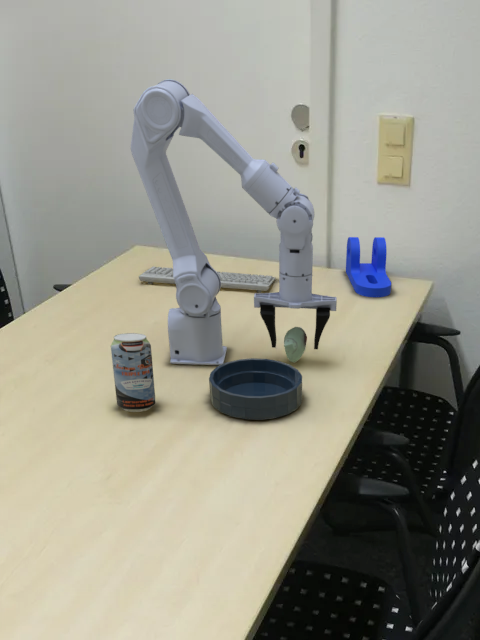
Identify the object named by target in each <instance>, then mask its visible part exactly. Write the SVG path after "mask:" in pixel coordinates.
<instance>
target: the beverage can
mask: <svg viewBox="0 0 480 640" xmlns="http://www.w3.org/2000/svg"><path fill="white" fill-rule="evenodd" d="M110 351H111V353H110V354H111V362H112V373H113V380H114V390H115V399H116V405H117V406H118V407H119V408H121V409H122V410H123V411H125V412H130V413H140V412H146V411H149V410H150V409H151V408H152V407H153V406H155V404H156V402H157V401H156V391H155V378H154V367H153V353H152V345H151V342H150V341H149V340H148V339H147V335H145V334H143V333H138V332H127V333H119V334H118V333H117V334H115V335H114V336H113V340H112V342H111V345H110Z"/></svg>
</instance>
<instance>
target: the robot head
mask: <svg viewBox="0 0 480 640" xmlns="http://www.w3.org/2000/svg"><path fill="white" fill-rule="evenodd" d="M307 342H308V336H307V334H306V331H305V330H304V329H303V328H302V327H300V326H294V327H291V328H290V329H288V330H287V331H286V333H285V335H284V338H283V347H284V353H285V355H286V358H287V359H288V361H289V362H291V363H295V364H296V362H298V361H299V360H300V359H301V358H302V357H303V355H304V353H305V351H306V347H307Z"/></svg>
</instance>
